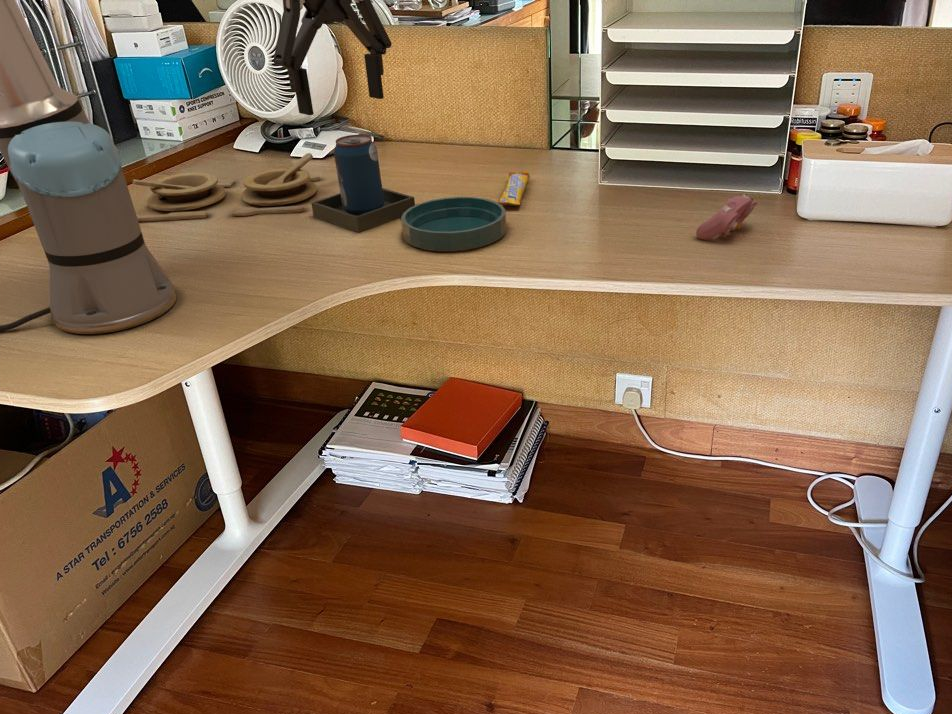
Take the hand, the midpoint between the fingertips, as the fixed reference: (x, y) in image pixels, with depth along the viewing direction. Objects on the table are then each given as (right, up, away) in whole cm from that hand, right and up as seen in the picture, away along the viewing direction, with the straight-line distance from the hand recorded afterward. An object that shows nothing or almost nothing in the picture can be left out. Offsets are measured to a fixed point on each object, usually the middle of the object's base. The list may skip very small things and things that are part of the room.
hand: (342, 105), depth 131 cm
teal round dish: (+18, -20, +1) cm, 27 cm away
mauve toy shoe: (+60, -21, -3) cm, 63 cm away
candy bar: (+26, -10, +16) cm, 32 cm away
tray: (+1, -15, +10) cm, 18 cm away
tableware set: (-24, -10, +19) cm, 32 cm away
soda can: (+1, -15, +10) cm, 18 cm away
